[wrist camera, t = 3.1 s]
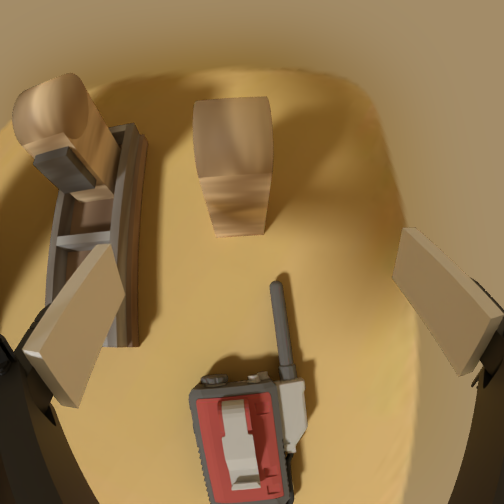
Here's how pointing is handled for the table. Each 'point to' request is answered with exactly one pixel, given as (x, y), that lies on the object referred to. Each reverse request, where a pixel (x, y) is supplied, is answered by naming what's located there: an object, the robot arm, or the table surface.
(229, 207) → the block
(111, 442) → the table surface
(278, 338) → the walkie-talkie
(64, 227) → the rail
